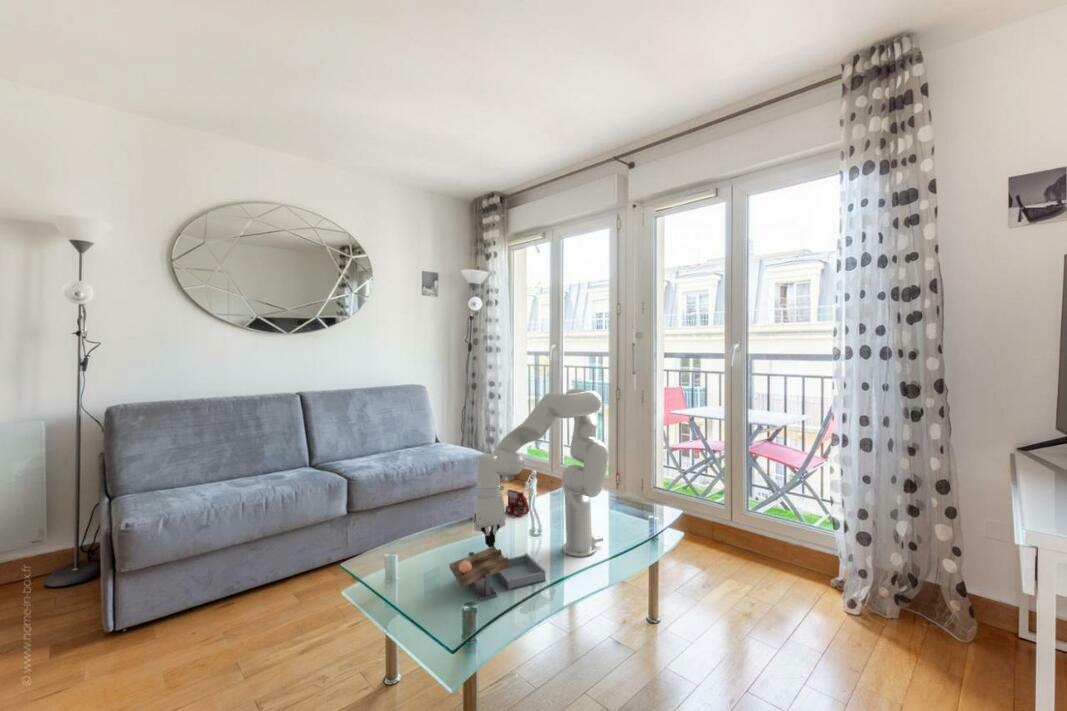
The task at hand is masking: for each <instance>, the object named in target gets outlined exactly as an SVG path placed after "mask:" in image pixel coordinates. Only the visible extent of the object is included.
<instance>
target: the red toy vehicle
mask: <svg viewBox="0 0 1067 711" xmlns="http://www.w3.org/2000/svg"><path fill="white" fill-rule="evenodd" d="M506 493H507V494H506V495H507V505H506V507H505V513H506V514H507V515H512V514H513V515H514V517H516V518H519V517H521V515H522V514H525V515H526V514H529V512H530V508H529V507H530V506H529V503H528V501H527V498H526V496H525V493H524V492H523V491H517V490H513V489H507V492H506Z"/></svg>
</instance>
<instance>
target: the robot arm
mask: <svg viewBox="0 0 1067 711" xmlns="http://www.w3.org/2000/svg"><path fill="white" fill-rule="evenodd" d="M601 406H602V398H601V395H600V394H599V393H598V392H596V391H594V390H591V389H590V390H589V389H582V388H571V389H569V390H567V391H566V392H565V393H559V392H548V393H546V394H544V396H543V397H542V398H541V399H540V400H539V402H537V404H536V406H535V407H534V408H533V409H532V411H531V412H530V414H528V416H527V417H526V419H525V420H524V421H523V422H522V423H520V424H519V425H517V427H515V428H513V430H511V431H510V432H508V433H507V435H505V436H504V437H503V438H502V440H501V441H500V442H499V443H498V444H497V446H496V447H495V448H494V450H493V452H492V453H481V454H480V455H479V456H478V457H477V459H476V468H477V469H476V470H477V471H476V473H477V494H476V495H475V497H474V502H473V519H472V520H473V521H472V522H473V524H474V526H473V527H474V528H473V530H474V531H475V532H482V533H483V534H484V542H485V545H486V546H487V547H488V548H491V547H495V544H496V535H497V532H498V531H499V529H501V528H503V527H505V526H506V507H505V502H504V501H505V500H504V498H503V494H502V491H504V490H505V487H504V485H501V476H514V475H518V474H520V473H521V472H523V469H524V467H525V461H524V459H523V457H522V456H521V455H520V454H518V451H519V450H520V449H521V448H522V447H523V446H525V445H527V444H529V443H532V442H535V441H538V440H540V439H542V438H543V437H544V436H545V435H546V434H547V432H548V430H549V429H550V428H551V426H552V425H553V424H554V423H555V421H556V420H557V419H558V418H560V419H571V418H573V421H574V422H573V430H572V437H571V443H570V447H569V448H570V450H569V452H570V456H571V458H572V459H574V460H575V461H576V462H580V463H583V465H579V464H570V465H567V466H566V467H565V468H564V470H563V471H562V475H561V483H562V490H563V493H564V506H565V508H564V509H565V510H564V511H565V512H564V513H565V538H566V540H565V541H566V542H565V543H563V544H562V552H563V553H564V554H566V555H568V556H571V557H578V558H579V557H581V558H583V557H588V555H589V556H592V555H593V554H595V553H596V551H597V546H596V544H597V543H600V542H603V541H604V537H603V536H602V535H599V536H597V535H596V534H594V535H592V507H591V506H592V505H591V502H592V501H591V498H595V497H597V496H599V495H600V494H601V492H602V490H603V488H604V486H605V485H604V484H605V479H606V475H607V474H606V473H607V468H608V467H607V466H608V460H609V451H608V448H607V445H606V444H605V443H604V442H603V441H601V440H600V439H596V436H597V426H598V423H597V416H596V415H595V413H597V412H598V411H599V410H600V409H601ZM489 527H490V528H489ZM591 554H592V555H591Z"/></svg>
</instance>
